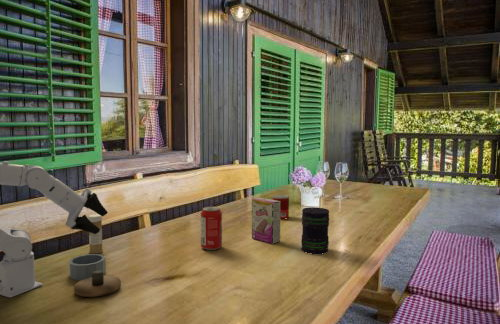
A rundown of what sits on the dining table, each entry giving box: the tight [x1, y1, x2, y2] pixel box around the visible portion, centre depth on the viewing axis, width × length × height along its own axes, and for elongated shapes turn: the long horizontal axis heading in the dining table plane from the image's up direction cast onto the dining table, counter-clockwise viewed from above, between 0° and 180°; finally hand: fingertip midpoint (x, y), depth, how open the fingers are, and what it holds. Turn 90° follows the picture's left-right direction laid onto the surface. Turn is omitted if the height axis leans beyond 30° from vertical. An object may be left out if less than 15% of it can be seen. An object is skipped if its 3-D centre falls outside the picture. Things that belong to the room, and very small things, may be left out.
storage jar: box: [300, 206, 330, 255], centre depth 143 cm, size 10×10×15 cm
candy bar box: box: [251, 197, 281, 245], centre depth 155 cm, size 11×5×16 cm, turn 47°
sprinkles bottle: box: [87, 213, 104, 254], centre depth 140 cm, size 5×5×13 cm
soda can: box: [200, 206, 223, 251], centre depth 146 cm, size 8×8×15 cm
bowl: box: [68, 253, 107, 281], centre depth 120 cm, size 10×10×4 cm
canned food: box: [272, 194, 290, 220], centre depth 193 cm, size 8×8×11 cm
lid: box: [73, 271, 122, 298], centre depth 109 cm, size 12×12×5 cm
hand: (101, 222), depth 120 cm, fingers open, 7 cm apart
